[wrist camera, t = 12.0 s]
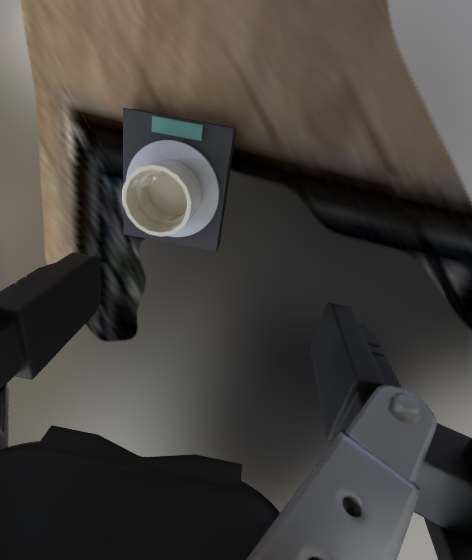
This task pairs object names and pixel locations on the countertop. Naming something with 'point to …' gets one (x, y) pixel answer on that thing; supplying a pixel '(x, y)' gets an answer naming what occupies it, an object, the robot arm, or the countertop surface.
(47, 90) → the countertop surface
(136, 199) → the white cup
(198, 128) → the scale
